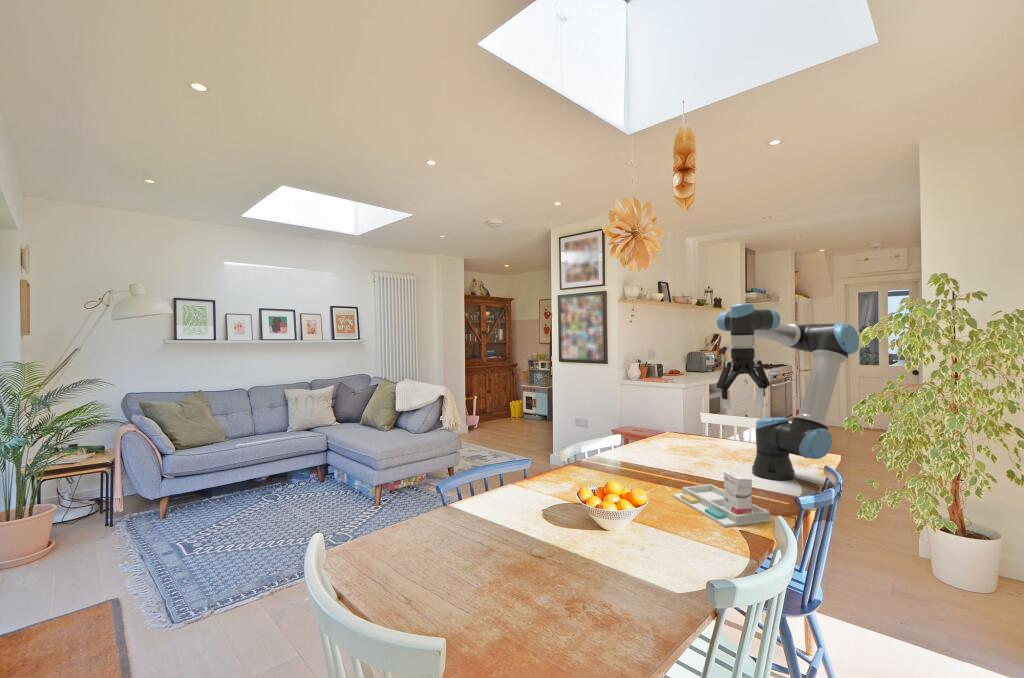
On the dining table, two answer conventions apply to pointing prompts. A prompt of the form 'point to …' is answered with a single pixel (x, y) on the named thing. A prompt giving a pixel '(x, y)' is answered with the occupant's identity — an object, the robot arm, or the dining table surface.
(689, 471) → the dining table surface
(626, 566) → the dining table surface
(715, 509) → the dock board
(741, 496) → the ink box
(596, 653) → the dining table surface
